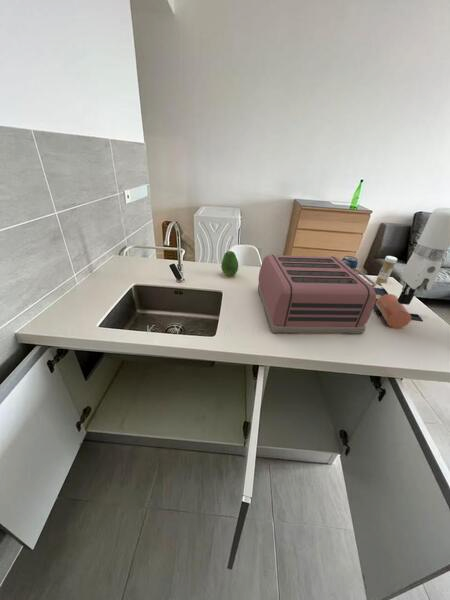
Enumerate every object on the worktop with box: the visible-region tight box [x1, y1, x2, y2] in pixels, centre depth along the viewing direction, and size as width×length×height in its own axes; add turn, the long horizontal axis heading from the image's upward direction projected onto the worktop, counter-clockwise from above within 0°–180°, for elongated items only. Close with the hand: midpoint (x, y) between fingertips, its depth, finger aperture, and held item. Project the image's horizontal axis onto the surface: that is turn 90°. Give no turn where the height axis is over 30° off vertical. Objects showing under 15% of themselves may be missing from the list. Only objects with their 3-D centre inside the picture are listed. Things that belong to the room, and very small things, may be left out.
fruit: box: [220, 250, 239, 277], centre depth 113 cm, size 8×8×12 cm
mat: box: [373, 287, 424, 322], centre depth 102 cm, size 16×24×1 cm, turn 169°
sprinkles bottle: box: [375, 255, 398, 286], centre depth 113 cm, size 5×5×13 cm
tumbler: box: [376, 293, 412, 329], centre depth 89 cm, size 7×7×11 cm
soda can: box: [340, 255, 359, 269], centre depth 114 cm, size 7×7×12 cm
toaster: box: [257, 254, 377, 334], centre depth 90 cm, size 30×36×17 cm
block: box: [374, 295, 381, 306], centre depth 99 cm, size 3×3×3 cm
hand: (403, 302), depth 83 cm, fingers closed
